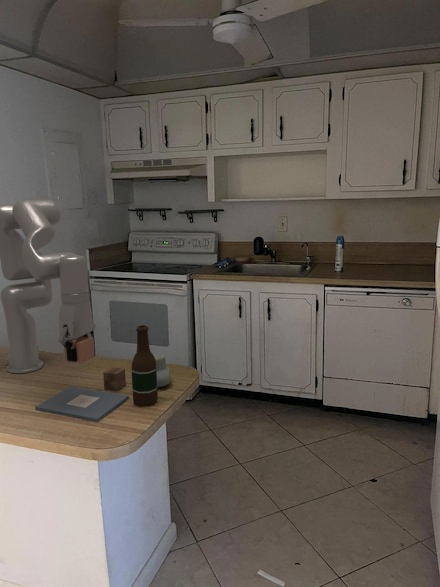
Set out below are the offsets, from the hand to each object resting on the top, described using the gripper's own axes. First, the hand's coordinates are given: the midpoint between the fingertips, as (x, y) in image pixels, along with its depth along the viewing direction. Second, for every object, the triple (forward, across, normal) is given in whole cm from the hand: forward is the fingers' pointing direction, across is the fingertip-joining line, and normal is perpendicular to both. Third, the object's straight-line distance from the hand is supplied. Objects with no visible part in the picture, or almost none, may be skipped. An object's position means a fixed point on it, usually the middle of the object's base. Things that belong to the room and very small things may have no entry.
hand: (79, 356), depth 131 cm
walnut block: (+15, -14, +2) cm, 21 cm away
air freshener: (+15, -21, +14) cm, 30 cm away
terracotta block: (+1, 0, 0) cm, 1 cm away
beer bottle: (+15, -8, +17) cm, 24 cm away
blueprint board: (+15, 0, 0) cm, 15 cm away
